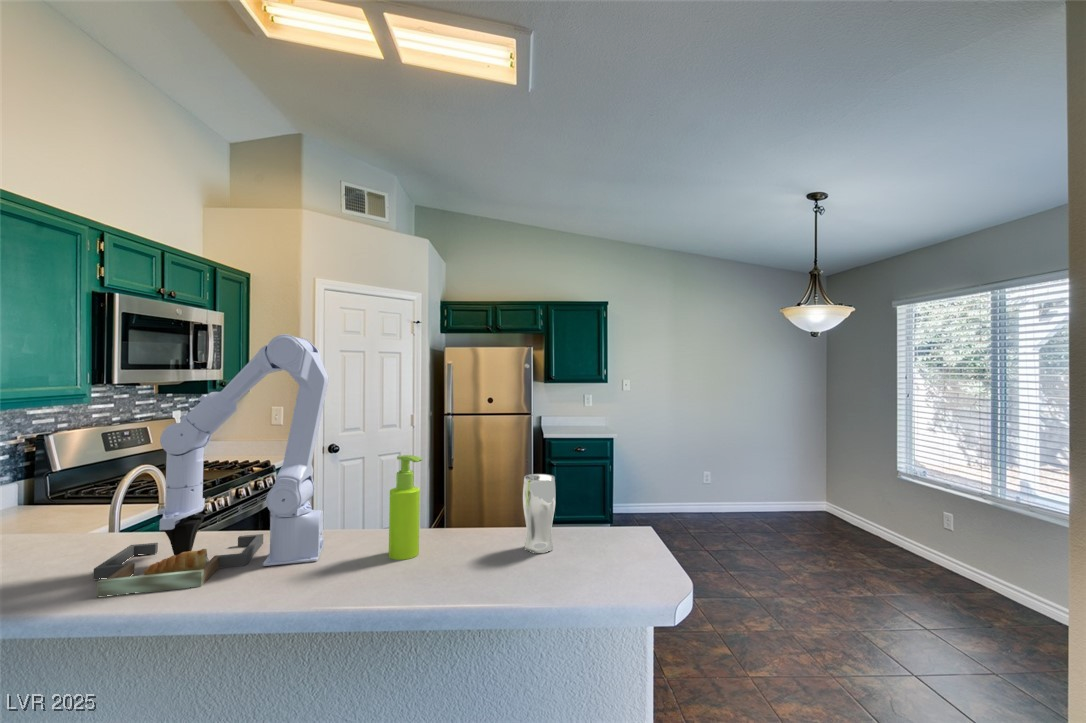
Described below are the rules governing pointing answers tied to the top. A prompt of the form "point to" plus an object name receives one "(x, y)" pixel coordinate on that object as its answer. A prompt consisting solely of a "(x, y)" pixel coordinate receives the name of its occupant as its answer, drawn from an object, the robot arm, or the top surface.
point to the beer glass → (539, 511)
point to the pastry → (180, 563)
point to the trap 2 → (242, 558)
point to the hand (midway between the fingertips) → (182, 556)
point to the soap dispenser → (404, 513)
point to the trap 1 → (123, 559)
